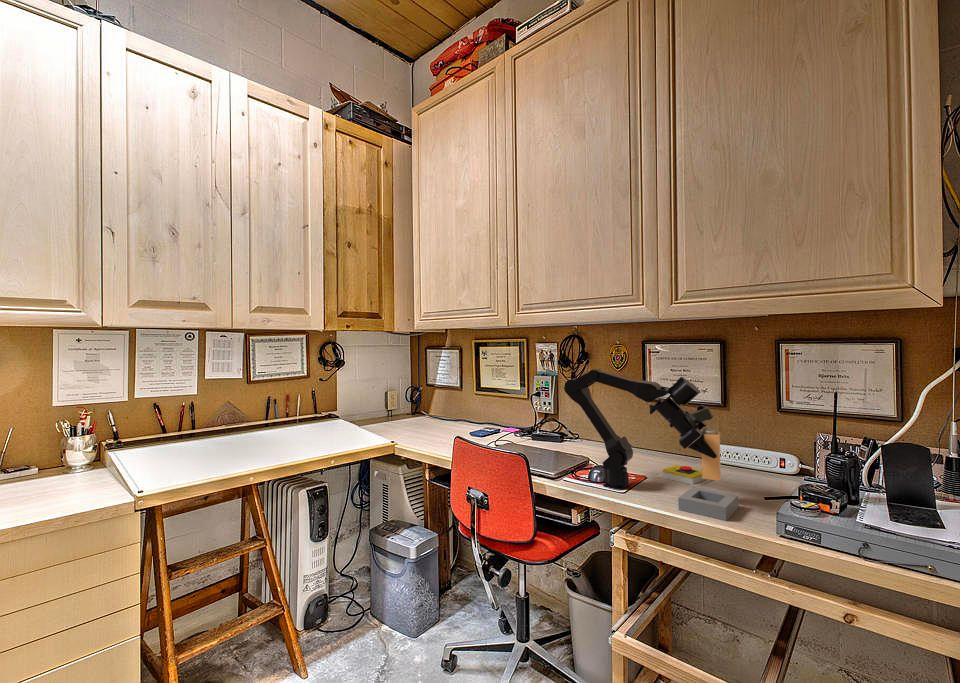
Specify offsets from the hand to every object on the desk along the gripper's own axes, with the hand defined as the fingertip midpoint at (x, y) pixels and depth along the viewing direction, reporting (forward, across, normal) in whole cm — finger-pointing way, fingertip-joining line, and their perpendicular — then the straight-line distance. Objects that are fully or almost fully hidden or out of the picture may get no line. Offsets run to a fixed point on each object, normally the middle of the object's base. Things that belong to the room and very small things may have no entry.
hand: (716, 455), depth 131 cm
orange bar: (+4, 0, +6) cm, 7 cm away
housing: (+8, -7, +11) cm, 15 cm away
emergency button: (+2, +19, +18) cm, 27 cm away
